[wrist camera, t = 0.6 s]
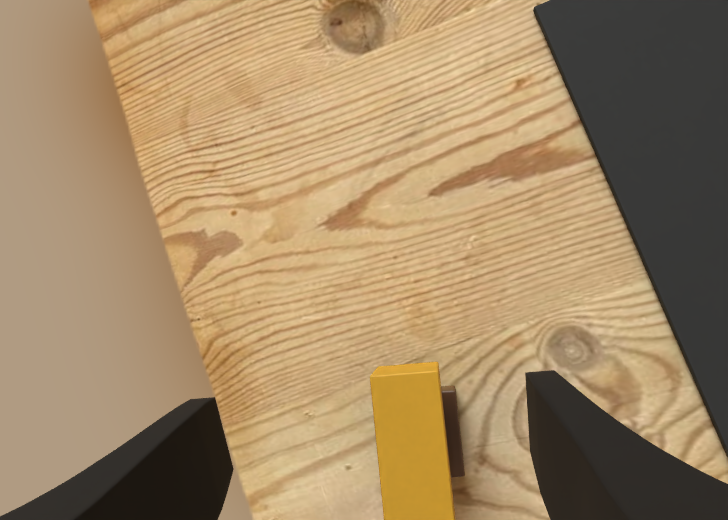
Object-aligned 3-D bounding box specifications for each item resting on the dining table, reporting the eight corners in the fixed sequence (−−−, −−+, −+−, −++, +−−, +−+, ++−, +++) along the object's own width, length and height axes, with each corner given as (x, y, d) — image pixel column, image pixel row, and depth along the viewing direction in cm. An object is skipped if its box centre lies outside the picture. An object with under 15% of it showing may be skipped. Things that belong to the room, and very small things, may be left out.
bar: (456, 530, 26) (459, 562, 23) (394, 533, 26) (388, 564, 23) (438, 361, 26) (438, 370, 23) (377, 366, 26) (369, 376, 24)
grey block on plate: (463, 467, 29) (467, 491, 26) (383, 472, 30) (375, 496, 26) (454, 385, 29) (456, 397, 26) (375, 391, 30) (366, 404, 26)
